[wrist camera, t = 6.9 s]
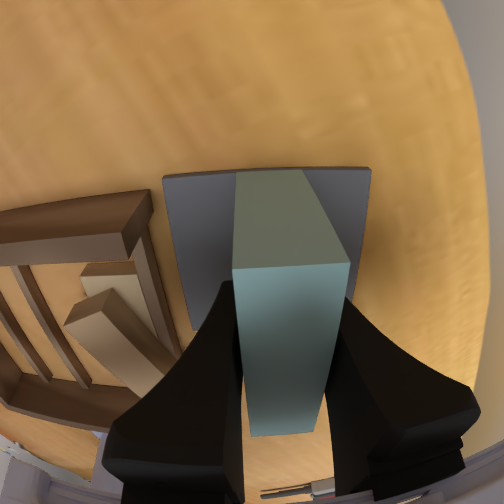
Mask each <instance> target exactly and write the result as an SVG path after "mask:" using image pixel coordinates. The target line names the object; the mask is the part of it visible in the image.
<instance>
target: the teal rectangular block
mask: <svg viewBox="0 0 504 504" xmlns="http://www.w3.org/2000/svg"><path fill="white" fill-rule="evenodd" d="M350 263H351V262H350V260H349V258H348V256H347V254H346V252H345V250H344V248H343V246H342V244H341V242H340V240H339V238H338V236H337V234H336V232H335V230H334V228H333V226H332V224H331V223H330V221H329V219H328V217H327V215H326V213H325V211H324V209H323V207H322V205H321V204H320V202H319V200H318V198H317V196H316V194H315V192H314V191H313V189H312V187H311V185H310V183H309V182H308V180H307V178H306V176H305V174H304V173H303V171H302V170H271V171H249V172H236V190H235V211H234V234H233V258H232V274H233V284H234V293H235V303H236V312H237V322H238V331H239V340H240V349H241V358H242V367H243V375H244V384H245V392H246V401H247V409H248V417H249V425H250V433H251V437H256V436H273V435H286V434H297V433H306V432H313V431H314V427H315V424H316V420H317V417H318V413H319V409H320V406H321V402H322V398H323V394H324V390H325V386H326V382H327V378H328V374H329V370H330V366H331V362H332V357H333V353H334V348H335V344H336V339H337V334H338V330H339V325H340V320H341V314H342V309H343V304H344V299H345V293H346V287H347V281H348V275H349V269H350Z"/></svg>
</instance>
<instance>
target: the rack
mask: <svg viewBox="0 0 504 504" xmlns="http://www.w3.org/2000/svg"><path fill="white" fill-rule="evenodd" d="M153 212H154V211H153V206H152V201H151V195H150V190H149V189H147V190H138V191H129V192H121V193H113V194H105V195H98V196H91V197H84V198H77V199H70V200H64V201H57V202H51V203H45V204H40V205H34V206H28V207H23V208H18V209H12V210H7V211H2V212H0V266H10V267H11V269H12V271H13V274H14V276H15V278H16V280H17V282H18V284H19V286H20V288H21V290H22V292H23V294H24V296H25V298H26V300H27V302H28V304H29V305H30V307H31V309H32V311H33V313H34V315H35V316H36V318H37V320H38V322H39V323H40V325H41V327H42V329H43V330H44V332H45V334H46V335H47V337H48V339H49V340H50V342H51V343H52V345H53V347H54V348H55V350H56V351H57V353H58V354H59V356H60V357H61V359H62V360H63V362H64V363H65V365H66V366H67V368H68V369H69V371H70V372H71V373H72V375H73V376H74V378H75V379H76V380H77V382H72V381H65V380H59V379H53V378H52V376H53V375H52V374H51V372H50V371H49V370H48V368H47V367H46V365H45V364H44V363H43V361H42V360H41V358H40V357H39V355H38V354H37V353H36V351H35V350H34V348H33V347H32V345H31V344H30V342H29V341H28V339H27V337H26V336H25V334H24V333H23V331H22V330H21V328H20V326H19V325H18V323H17V321H16V320H15V318H14V316H13V315H12V313H11V311H10V309H9V308H8V306H7V304H6V302H5V300H4V298H3V297H2V295H1V293H0V320H1V322H2V323H3V325H4V327H5V328H6V330H7V331H8V333H9V334H10V336H11V337H12V339H13V340H14V342H15V343H16V345H17V346H18V348H19V349H20V351H21V352H22V354H23V355H24V356H25V358H26V359H27V361H28V362H29V363H30V365H31V366H32V367H33V369H34V370H35V371H36V373H37V374H38V375H39V376H36V375H31V374H26V373H22V372H21V370H20V369H19V368H18V366H17V365H16V364H15V362H14V361H13V360H12V358H11V357H10V356H9V354H8V353H7V352H6V350H5V349H4V347H3V346H2V344H1V343H0V402H1V403H2V404H3V405H4V406H5V408H6V409H8V410H11V411H14V412H17V413H21V414H24V415H27V416H31V417H34V418H38V419H42V420H45V421H49V422H53V423H57V424H62V425H66V426H70V427H75V428H80V429H85V430H90V431H96V432H102V433H109V430H110V428H111V425H112V422H113V421H114V420H115V419H117V418H118V417H119V416H121V415H122V414H123V413H124V412H126V411H127V410H128V409H130V408H131V407H132V406H133V405H135V404H136V403H137V402H138V401H139V400H140V399H142V398H140V397H139V396H138V395H137V394H135V393H134V392H133V391H132V390H130V389H129V388H124V387H113V386H104V385H95V384H91V382H92V380H91V379H90V377H89V376H88V374H87V373H86V371H85V370H84V368H83V367H82V365H81V363H80V362H79V360H78V359H77V357H76V356H75V354H74V352H73V351H72V349H71V347H70V346H69V344H68V342H67V341H66V339H65V337H64V336H63V334H62V332H61V330H60V329H59V327H58V325H57V323H56V321H55V320H54V318H53V316H52V314H51V312H50V310H49V308H48V306H47V304H46V302H45V301H44V299H43V297H42V295H41V292H40V290H39V288H38V286H37V284H36V282H35V280H34V278H33V276H32V273H31V271H30V269H29V267H28V265H38V264H58V263H77V262H97V261H116V260H129V258H130V256H131V254H132V256H133V260H134V263H135V267H136V270H137V274H138V277H139V280H140V284H141V287H142V290H143V293H144V296H145V299H146V302H147V305H148V308H149V311H150V314H151V317H152V320H153V323H154V326H155V329H156V332H157V334H158V337H159V340H160V342H161V344H162V345H163V346H164V347H165V348H166V349H167V350H168V351H169V352H170V353H171V354H172V355H173V356H174V357H175V358H176V359H177V360H178V359H179V358H180V357H181V355H182V352H181V349H180V346H179V342H178V339H177V336H176V333H175V329H174V326H173V323H172V319H171V316H170V312H169V309H168V305H167V302H166V298H165V295H164V291H163V287H162V283H161V280H160V276H159V272H158V268H157V264H156V260H155V256H154V252H153V248H152V243H151V239H150V235H149V230H148V226H147V223H148V221H149V219H150V218H151V216H152V214H153Z"/></svg>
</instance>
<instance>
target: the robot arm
mask: <svg viewBox="0 0 504 504" xmlns="http://www.w3.org/2000/svg"><path fill="white" fill-rule="evenodd" d="M242 382H243V367H242V358H241V349H240V340H239V331H238V322H237V312H236V303H235V293H234V284H233V280H229V281H223V282H222V283H221V286H220V289H219V291H218V294H217V296H216V298H215V301H214V303H213V305H212V307H211V309H210V311H209V313H208V315H207V316H206V318H205V320H204V322H203V324H202V325H201V327H200V329H199V330H198V332H197V333H196V335H195V337H194V338H193V340H192V341H191V343H190V344H189V346H188V347H187V349H186V350H185V351H184V353H183V354H182V355H181V357H180V358H179V359H178V361H177V362H176V363H175V364H174V365H173V366H172V368H171V369H170V370H169V371H168V372H167V374H166V375H165V376H164V377H163V378H162V379H161V380H160V381H159V382H158V383H157V384H156V385H155V386H154V387H153V388H152V389H151V390H150V391H149V392H148V393H147V394H146V395H145V396H144V397H143V398H142V399H140V400H139V401H138V402H137V403H136V404H135V405H133V406H132V407H131V408H130V409H128V410H127V411H126V412H124V413H123V414H122V415H121V416H119V417H118V418H117V419H115V420H114V421H113V422H112V425H111V428H110V430H109V433H102V432H96V431H92V432H93V433H94V434H95V435H96V436H97V437H98V438H99V439H100V442H99V447H98V451H97V455H96V460H95V465H94V470H93V475H92V480H91V485H90V488H88V487H85V486H81V485H77V484H74V483H70V482H67V481H64V480H60V479H58V478H55V477H52V476H50V475H49V474H48V473H46V472H45V471H43V470H41V469H40V468H38V467H36V466H33V465H31V464H28V463H26V462H23V461H21V460H18V459H16V458H14V457H12V458H11V459H10V463H9V466H8V470H7V473H6V477H5V481H4V485H3V489H2V493H1V497H0V504H243V503H244V502H245V493H244V474H243V452H242V422H241V395H242ZM324 392H325V397H326V403H327V409H328V417H329V424H330V432H331V441H332V452H333V463H334V479H335V497H333V498H327V499H320V500H313V501H306V502H297V503H287V504H397V503H400V502H403V501H407V500H410V499H413V498H416V497H418V496H421V495H422V496H421V497H420V498H418V499H416V500H413V501H411V502H408V503H405V504H504V440H502V441H500V442H498V443H496V444H494V445H492V446H490V447H488V448H486V449H484V450H482V451H480V452H478V453H476V454H474V455H472V456H469V457H467V458H465V459H463V457H462V454H461V451H460V449H461V448H462V447H463V442H462V439H461V436H462V435H463V434H464V433H465V432H466V431H467V430H468V429H469V428H470V427H471V426H472V425H473V424H474V423H475V422H476V421H477V420H478V418H479V416H480V414H481V410H480V407H479V405H478V403H477V401H476V398H475V396H474V394H473V392H472V390H471V389H470V387H469V386H466V385H464V384H462V383H460V382H457V381H455V380H453V379H451V378H449V377H447V376H445V375H443V374H441V373H439V372H437V371H435V370H434V369H432V368H430V367H428V366H427V365H425V364H423V363H422V362H420V361H419V360H417V359H416V358H414V357H413V356H411V355H410V354H408V353H407V352H405V351H404V350H403V349H401V348H400V347H398V346H397V345H396V344H395V343H393V342H392V341H391V340H390V339H388V338H387V337H386V336H385V335H384V334H382V333H381V332H380V331H379V330H378V329H377V328H376V327H375V326H374V325H373V324H372V323H371V322H370V321H369V320H368V319H367V318H366V317H365V316H364V315H363V314H362V313H361V312H360V311H359V310H358V309H357V308H356V307H355V306H354V305H353V304H352V303H351V302H350V300H349V299H348V298H347V297H346V296H345V299H344V304H343V309H342V314H341V320H340V325H339V330H338V334H337V339H336V344H335V348H334V353H333V357H332V362H331V366H330V370H329V374H328V378H327V382H326V386H325V390H324Z"/></svg>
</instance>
